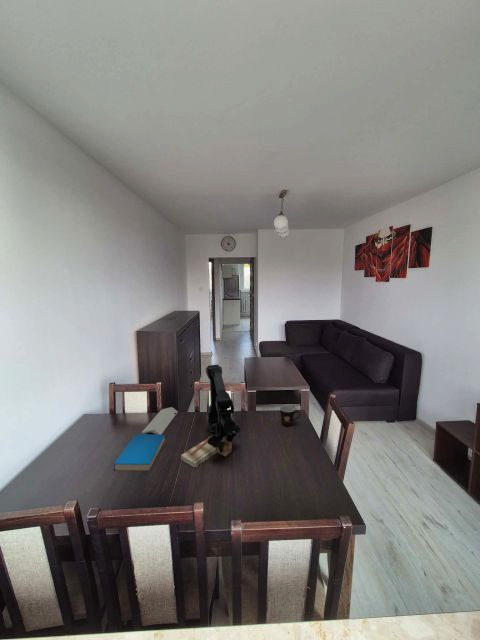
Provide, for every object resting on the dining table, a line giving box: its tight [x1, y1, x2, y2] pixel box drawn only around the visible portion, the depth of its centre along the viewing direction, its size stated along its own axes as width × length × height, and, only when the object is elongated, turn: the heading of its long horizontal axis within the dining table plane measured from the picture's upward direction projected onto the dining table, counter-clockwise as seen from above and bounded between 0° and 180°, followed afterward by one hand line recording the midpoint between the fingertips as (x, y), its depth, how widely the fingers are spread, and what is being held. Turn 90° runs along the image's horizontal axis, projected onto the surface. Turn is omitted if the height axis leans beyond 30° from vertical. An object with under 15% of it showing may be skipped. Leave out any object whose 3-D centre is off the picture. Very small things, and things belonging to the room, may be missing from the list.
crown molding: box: [140, 406, 179, 434], centre depth 174 cm, size 29×12×4 cm, turn 174°
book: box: [113, 433, 166, 472], centre depth 141 cm, size 17×4×25 cm
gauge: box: [217, 438, 233, 457], centre depth 140 cm, size 5×5×6 cm
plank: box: [180, 436, 218, 468], centre depth 142 cm, size 22×10×2 cm, turn 141°
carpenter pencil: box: [190, 439, 208, 455], centre depth 142 cm, size 14×1×1 cm, turn 149°
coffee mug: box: [279, 405, 301, 428], centre depth 168 cm, size 12×9×10 cm
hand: (224, 450), depth 141 cm, fingers closed on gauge, 5 cm apart
